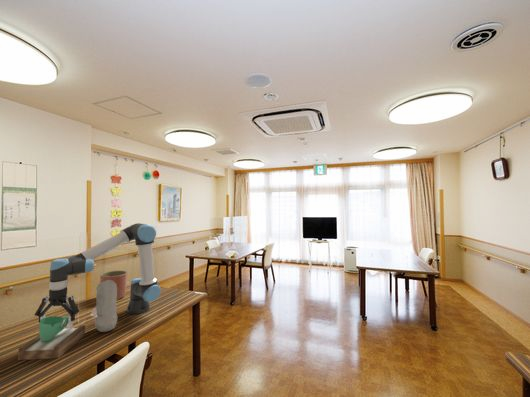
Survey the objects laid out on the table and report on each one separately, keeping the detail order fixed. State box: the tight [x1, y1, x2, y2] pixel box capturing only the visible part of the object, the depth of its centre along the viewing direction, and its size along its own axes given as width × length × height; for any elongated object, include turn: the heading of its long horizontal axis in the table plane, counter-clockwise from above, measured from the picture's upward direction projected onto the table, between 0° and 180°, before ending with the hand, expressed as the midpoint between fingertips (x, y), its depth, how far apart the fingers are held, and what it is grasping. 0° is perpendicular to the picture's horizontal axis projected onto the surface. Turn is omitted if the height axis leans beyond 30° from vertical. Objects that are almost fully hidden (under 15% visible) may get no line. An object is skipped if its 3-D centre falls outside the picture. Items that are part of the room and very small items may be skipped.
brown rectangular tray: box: [17, 325, 86, 361], centre depth 130 cm, size 18×22×6 cm
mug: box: [38, 315, 69, 342], centre depth 131 cm, size 15×10×10 cm
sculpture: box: [94, 280, 118, 333], centre depth 150 cm, size 15×12×30 cm
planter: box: [99, 269, 128, 301], centre depth 200 cm, size 19×19×20 cm
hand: (56, 327), depth 131 cm, fingers open, 13 cm apart
